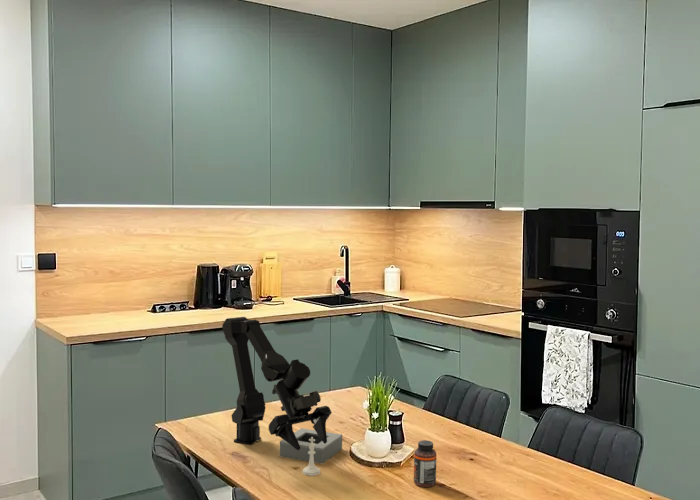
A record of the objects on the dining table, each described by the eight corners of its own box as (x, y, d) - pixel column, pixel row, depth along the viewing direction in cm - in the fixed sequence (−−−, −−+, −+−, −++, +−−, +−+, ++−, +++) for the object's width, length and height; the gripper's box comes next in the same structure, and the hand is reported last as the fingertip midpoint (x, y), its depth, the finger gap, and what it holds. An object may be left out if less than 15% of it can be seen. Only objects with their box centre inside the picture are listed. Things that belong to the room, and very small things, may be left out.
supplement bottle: (411, 479, 190) (412, 438, 189) (433, 479, 190) (434, 438, 190) (415, 488, 184) (416, 446, 183) (437, 487, 184) (438, 445, 184)
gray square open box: (279, 456, 206) (279, 441, 205) (301, 442, 219) (301, 428, 218) (322, 464, 200) (322, 448, 200) (342, 449, 213) (342, 434, 213)
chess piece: (317, 476, 191) (318, 440, 190) (300, 474, 192) (301, 439, 191) (322, 469, 196) (322, 435, 195) (305, 468, 197) (305, 433, 196)
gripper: (274, 387, 190) (297, 437, 182) (328, 378, 202) (352, 424, 194) (258, 409, 197) (280, 458, 189) (311, 399, 209) (334, 445, 201)
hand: (312, 446), depth 193 cm, fingers open, 9 cm apart
